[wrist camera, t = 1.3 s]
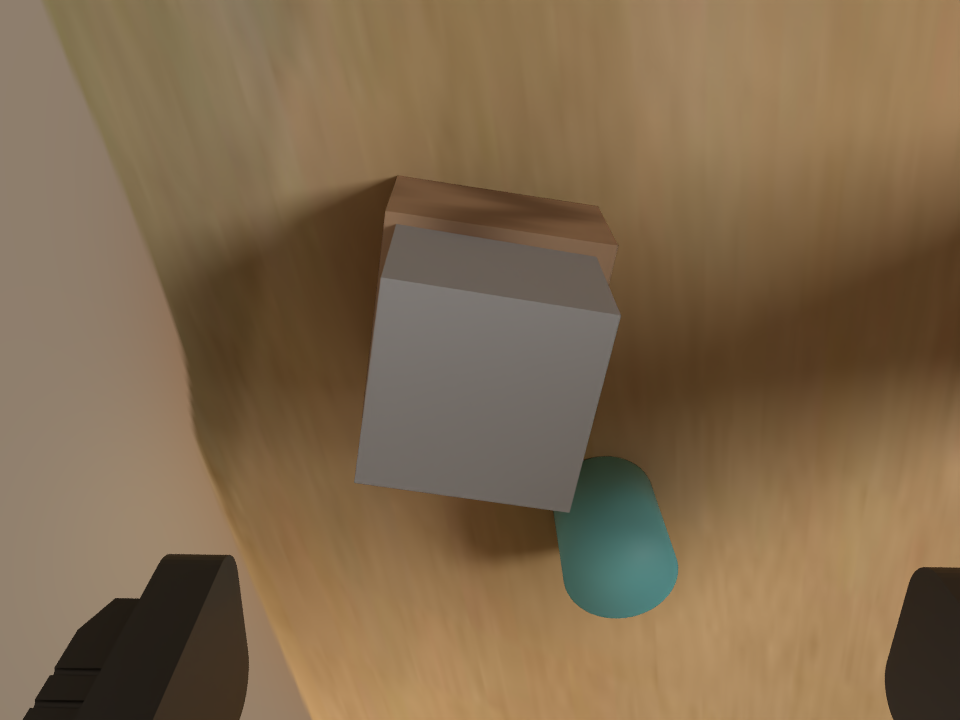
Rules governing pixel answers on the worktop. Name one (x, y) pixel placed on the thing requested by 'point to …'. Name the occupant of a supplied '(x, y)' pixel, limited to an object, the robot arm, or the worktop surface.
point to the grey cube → (484, 369)
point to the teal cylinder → (615, 541)
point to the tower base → (496, 221)
